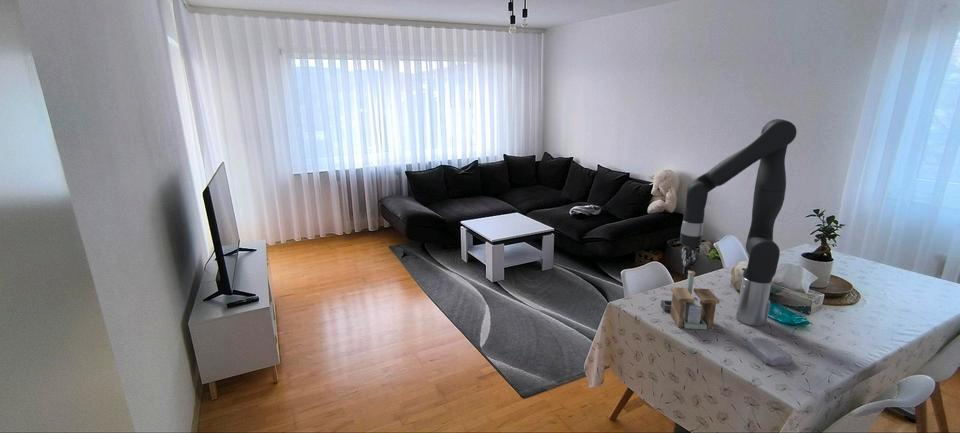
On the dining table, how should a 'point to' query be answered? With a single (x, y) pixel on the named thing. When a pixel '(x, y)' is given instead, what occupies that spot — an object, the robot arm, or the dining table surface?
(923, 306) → the dining table surface
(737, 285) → the coin bank
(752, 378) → the dining table surface
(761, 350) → the stone block
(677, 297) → the tunnel
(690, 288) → the slider
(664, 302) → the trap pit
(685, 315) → the medicine box
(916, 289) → the dining table surface
